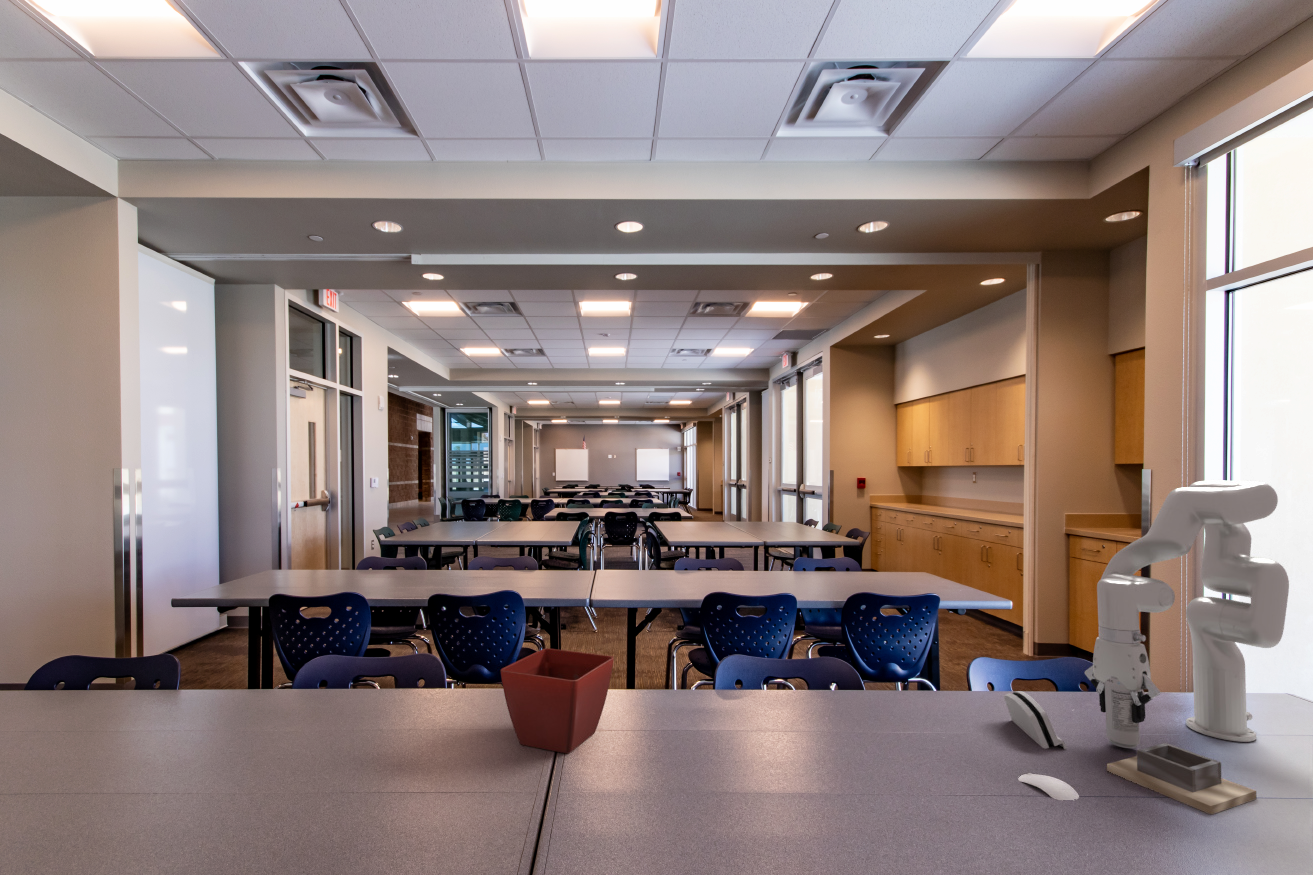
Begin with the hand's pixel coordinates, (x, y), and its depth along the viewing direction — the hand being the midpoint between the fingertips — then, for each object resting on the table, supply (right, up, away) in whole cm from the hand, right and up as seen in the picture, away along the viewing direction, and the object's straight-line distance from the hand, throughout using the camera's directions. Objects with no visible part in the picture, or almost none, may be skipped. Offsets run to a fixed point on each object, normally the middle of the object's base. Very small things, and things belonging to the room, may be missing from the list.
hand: (1122, 715), depth 144 cm
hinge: (-16, -8, +7) cm, 19 cm away
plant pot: (-127, -5, 0) cm, 127 cm away
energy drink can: (0, -6, 0) cm, 6 cm away
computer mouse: (-28, -7, -18) cm, 34 cm away
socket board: (-1, -6, -17) cm, 18 cm away
